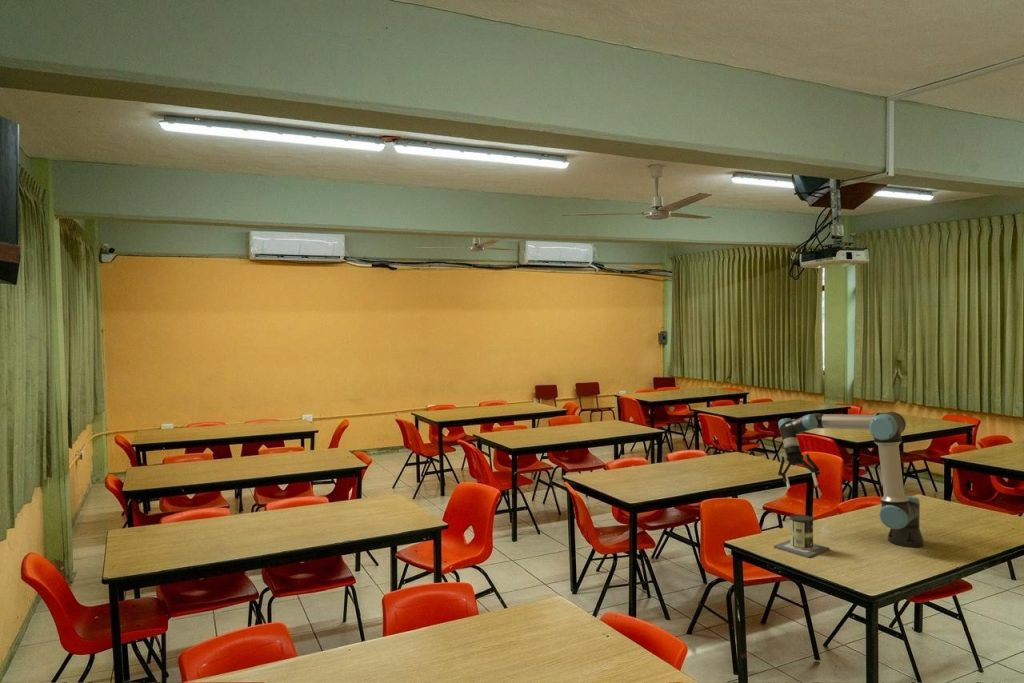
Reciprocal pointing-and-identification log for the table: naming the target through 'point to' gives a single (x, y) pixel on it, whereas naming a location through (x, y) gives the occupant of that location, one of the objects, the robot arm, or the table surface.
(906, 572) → the table surface
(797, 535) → the coffee can
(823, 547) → the mat
